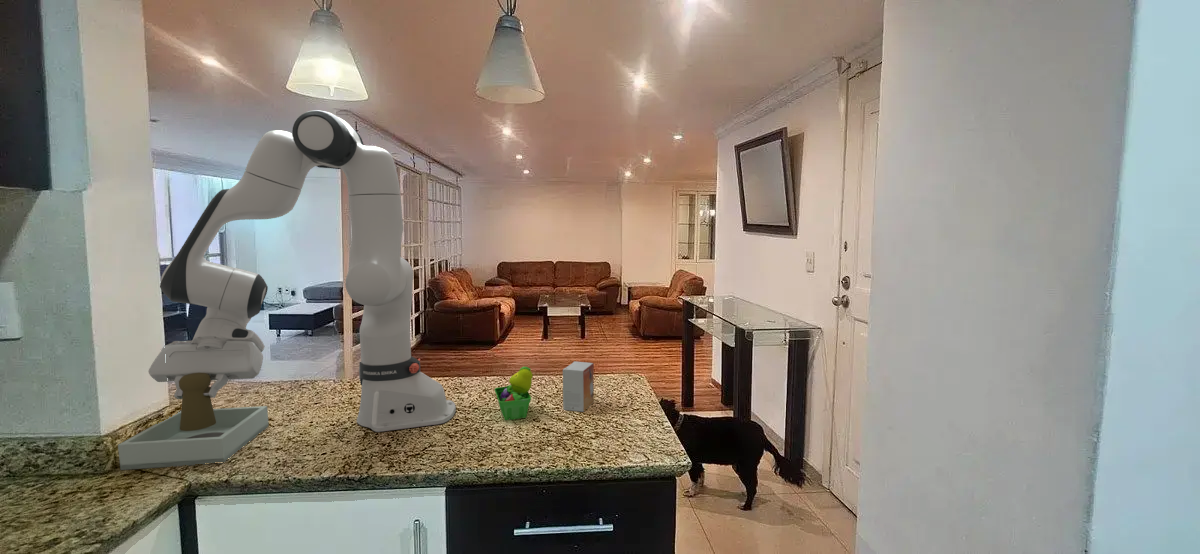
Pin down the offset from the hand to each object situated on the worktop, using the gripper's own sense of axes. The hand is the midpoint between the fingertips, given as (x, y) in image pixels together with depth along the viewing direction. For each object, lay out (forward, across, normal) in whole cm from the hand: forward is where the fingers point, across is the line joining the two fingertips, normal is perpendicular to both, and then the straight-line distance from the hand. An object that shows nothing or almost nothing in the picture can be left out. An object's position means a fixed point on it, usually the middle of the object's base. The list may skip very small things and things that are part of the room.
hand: (194, 397), depth 106 cm
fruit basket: (+1, +65, +14) cm, 67 cm away
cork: (+4, 0, +5) cm, 6 cm away
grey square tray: (+7, 0, +8) cm, 11 cm away
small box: (-1, +81, +15) cm, 83 cm away
